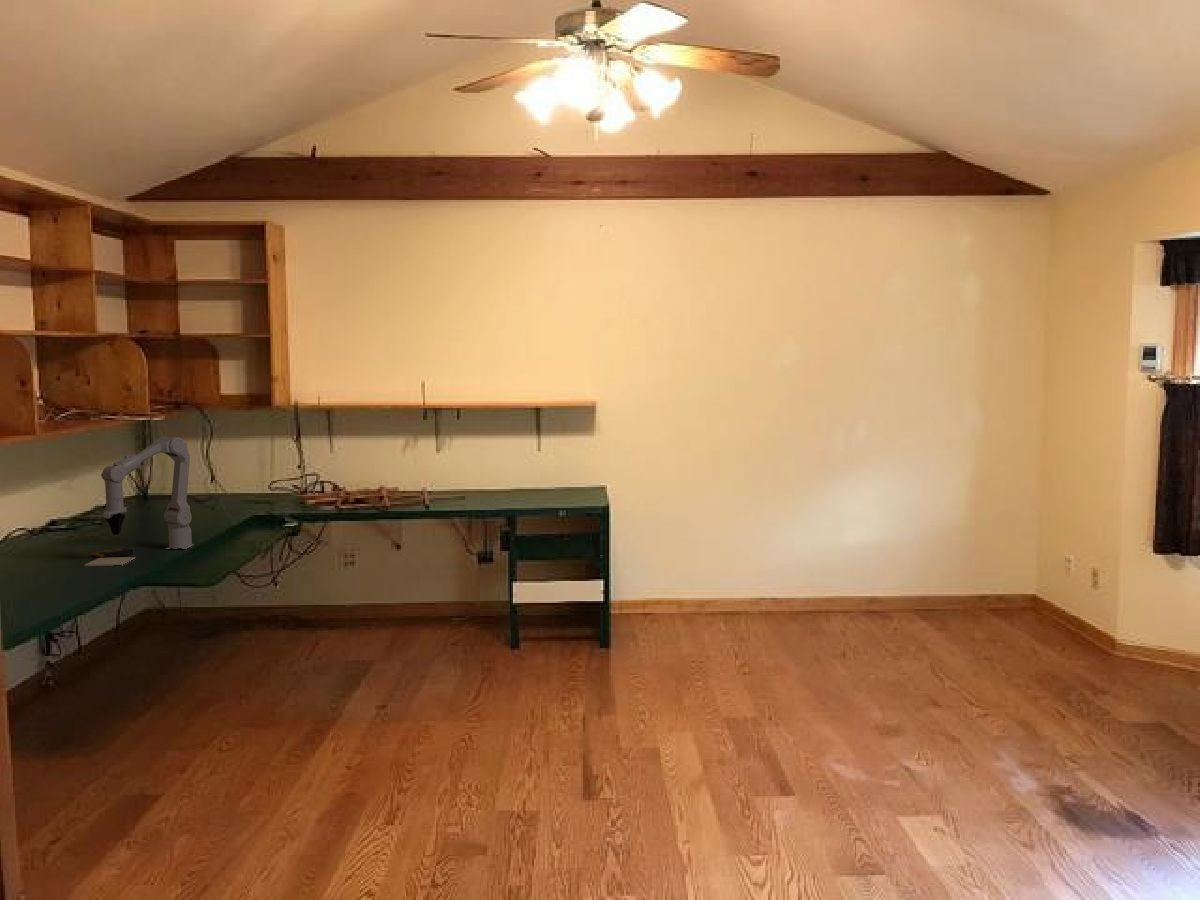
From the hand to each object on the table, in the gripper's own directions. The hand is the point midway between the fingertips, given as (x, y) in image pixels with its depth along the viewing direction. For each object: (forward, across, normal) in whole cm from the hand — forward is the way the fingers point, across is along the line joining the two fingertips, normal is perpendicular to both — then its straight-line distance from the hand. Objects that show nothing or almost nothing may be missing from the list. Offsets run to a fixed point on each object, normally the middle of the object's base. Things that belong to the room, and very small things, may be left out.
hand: (116, 534), depth 355 cm
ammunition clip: (+8, -4, -1) cm, 9 cm away
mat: (+9, +6, 0) cm, 11 cm away
